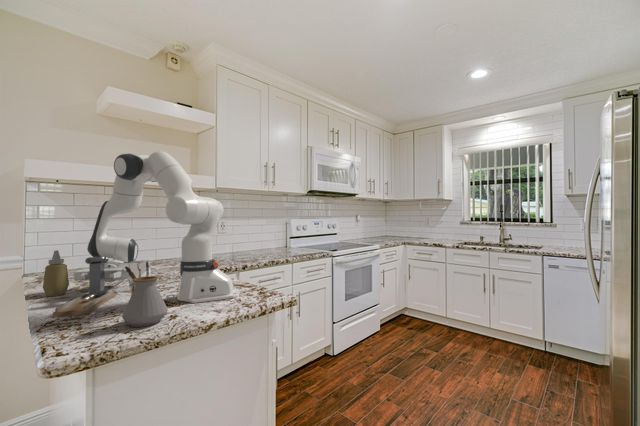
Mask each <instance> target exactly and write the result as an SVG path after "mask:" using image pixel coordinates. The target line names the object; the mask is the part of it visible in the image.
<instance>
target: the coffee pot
mask: <svg viewBox="0 0 640 426" xmlns="http://www.w3.org/2000/svg"><path fill="white" fill-rule="evenodd" d="M123 269H124V268H123ZM123 269H122V271H123ZM125 269H126V271H127V272H128V273H129V275H130V277H131V278H132V279H133V281H134V282H135V286H136V287H135V289H134V291H133V293H132V295H131V294H130V298H129V299H128V303H127V304H126V306H125V309H124V311H123V312H122V317H121V318H122V319H123V321H124V323H126V324H129V325H130V327H135V328H140V327H148V326H152V325H156V324H158V323H159V322H161V320H162V319H163V318H164V317H165V316H166V315H167V313H168V306H167V305H166V302H165V301H164V298H163V296H162V295H161V293H160V291H159V289H158V287H157V280H158V279H159V276H157V275H155V276H154V275H151V276H147V277H139V278H136V276H135V275H134V273H133V272H132V271H131V269H129V267H127V266H126V267H125ZM123 272H124V271H123Z"/></svg>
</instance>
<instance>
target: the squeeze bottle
mask: <svg viewBox="0 0 640 426" xmlns="http://www.w3.org/2000/svg"><path fill="white" fill-rule="evenodd" d="M64 262H65V259H64V258H61V255H60V251H59V250H54V251H53V253H52V258H51V259H48V265H46V266H45V268H44V275H43V283H42V290H43V292H44V294H45V296H46V297H57V296H59V297H60V296H62V295H65V294H66V293H67V291H68V289H69V285H70V280H69V271H68V266H67V264H65V263H64Z"/></svg>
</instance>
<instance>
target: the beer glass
mask: <svg viewBox="0 0 640 426" xmlns="http://www.w3.org/2000/svg"><path fill="white" fill-rule="evenodd" d="M129 269H131V271H132V272H133V273H134V275H135V276H136V278H139V277H147V276H152V271H151V270H152V269H151V261H150V260H146V259H145V260H135V261H132V262H129ZM127 280H128V285H129V288H130V296H131V295H132V293H133V291H134V289H135V287H136V286H135V282H134V281H133V279H132V278H131V277H130V275H129V273H128V278H127Z"/></svg>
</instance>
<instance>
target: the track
mask: <svg viewBox="0 0 640 426" xmlns="http://www.w3.org/2000/svg"><path fill="white" fill-rule="evenodd" d="M88 293H89V292H86V293H84V294H82V295H79V296H78V297H76V298H74V299H72V300H70V301H68V302H66V303H64V304H62V305H60V306H58V307H56V308H54V311H53V312H52V318H60V317H62V318H63V317H72V316H73V317H74V316H84V315H88V314H90V313H91V312H93V311H95V310H96V309H98V308H100V307H101V306H102V305H104V304H106V303H107V302H109V301H110V300H112V299H114V298H115V297H117V292H116V291H115V289H112V290H110V291H107V294H105V295H103V296H101V297H94V298H92V299H90V300H88V301H86V302H84V301H83V299H84V298H85V297H86V294H88Z"/></svg>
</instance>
